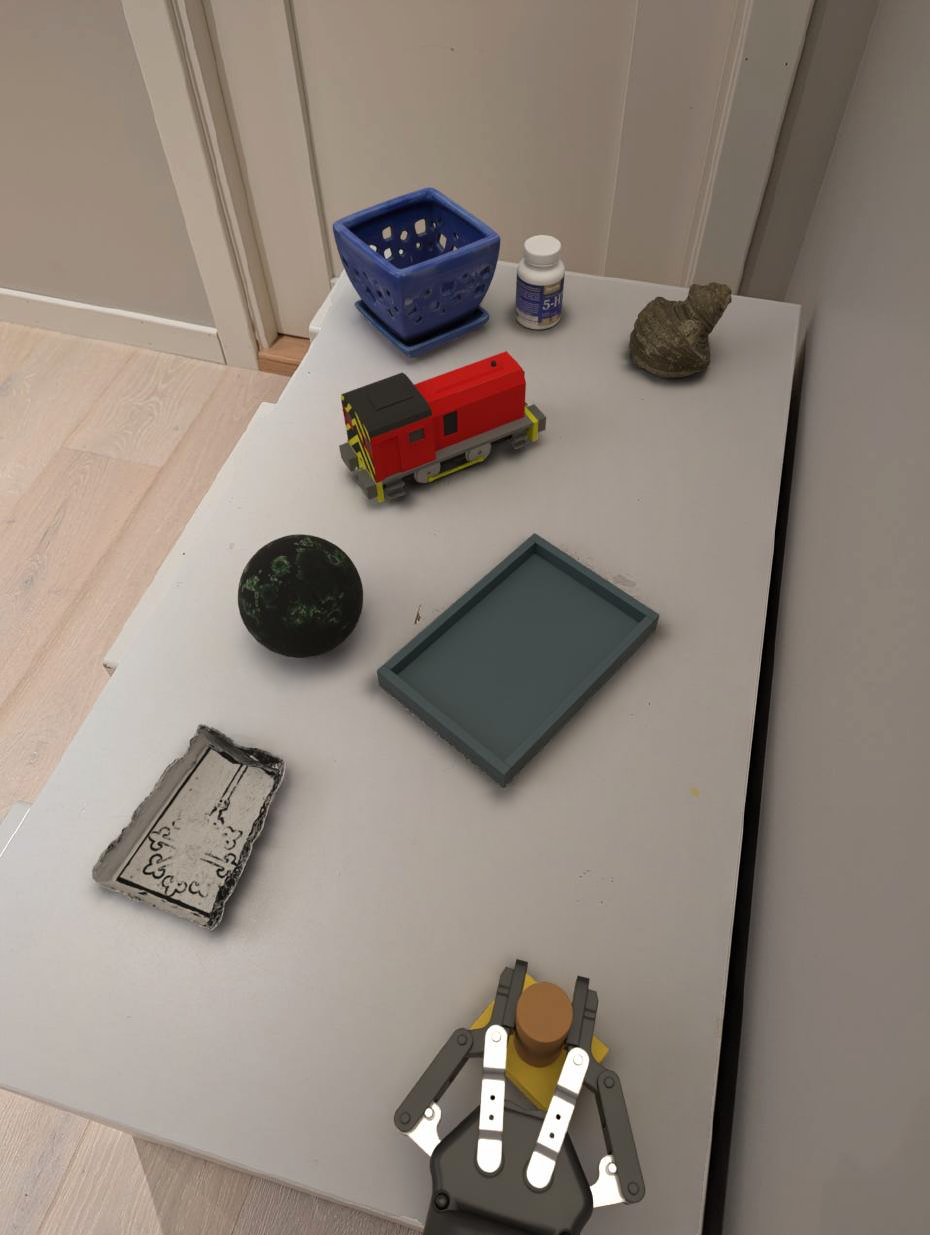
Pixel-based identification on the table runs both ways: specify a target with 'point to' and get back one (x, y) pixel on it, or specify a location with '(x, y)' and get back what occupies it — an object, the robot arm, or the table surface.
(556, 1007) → the stamp with peg handle
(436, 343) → the flower pot
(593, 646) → the tray
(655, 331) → the seashell
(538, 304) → the pill bottle
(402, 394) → the toy train
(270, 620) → the decorative stone
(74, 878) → the table surface
